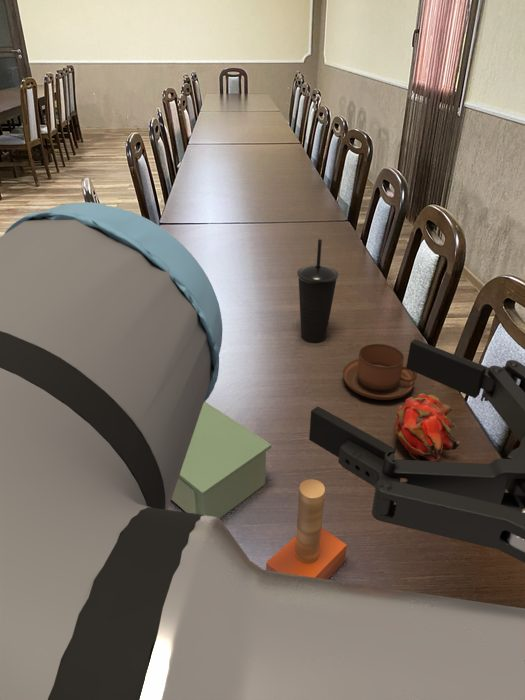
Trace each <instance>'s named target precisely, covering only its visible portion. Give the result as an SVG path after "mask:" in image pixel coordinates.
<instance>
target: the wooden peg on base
mask: <svg viewBox="0 0 525 700" xmlns="http://www.w3.org/2000/svg"><path fill="white" fill-rule="evenodd" d="M325 495H326V487H325V485H324V483H322V482H321V481H320V480H317V479H314V478H309V479H305V480H303V481H302V482H301V483H300V484H299V487H298V501H297V502H298V505H297V518H296V519H297V520H296V521H297V522H296V535H295V536H294V537H293V538H291V539H290V540H289V541H288V542H287V543H286V544H285V545H284V546H282V547H281V549H279V550H278V551H277V552H276V553H274V555H273V556H271V557H270V558H269V560H267V561H266V562H265V570H267V571H274V572H280V573H287V574H294V575H301V576H308V577H314V578H321V579H328V580H330V578H331V577H332V576H333V575H334V574H335V573H336V572H337V571H338V570H339V569H340V567H342V565H343V564H344V563H345V561H346V554H347V547H348V545H347V543H345V542H344V541H342V540H341V539H340V538H338V537H337V536H335V535H333V534H332V532H330V531H328V530H326V529H325V528H323V527H322V526H323V518H324V517H323V516H324V506H325V504H324V503H325Z"/></svg>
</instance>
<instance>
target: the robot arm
mask: <svg viewBox="0 0 525 700" xmlns="http://www.w3.org/2000/svg"><path fill="white" fill-rule="evenodd" d="M221 312H222V311H221V308H220V304H219V300H218V297H217V295H216V292H215V289H214V287H213V284H212V282H211V281H210V280H209V277H208V276H207V274H206V272H205V270H204V268H202V266H201V265H200V263H199V262H198V260H197V259H196V258H195V256H194V255H193V254H192V253H191V252H190V251H189V250H188V249H187V248H186V247H185V245H184V244H182V243H181V242H180V241H179V240H178V239H177V238H176V237H174V235H172V234H171V233H170V232H169V231H167V230H166V229H164V228H163V227H161V226H160V225H158V224H156V223H155V222H153V221H152V220H150V219H148V218H146V217H145V216H143V215H140V214H138V213H137V212H133V211H131V210H126V209H123V208H121V207H117V206H110V205H106V204H105V203H102V202H101V203H100V202H90V201H89V202H88V201H84V202H83V201H82V202H81V201H80V202H71V203H65V204H60V205H56V206H54V207H51V208H49V209H47V210H44V211H42V212H40V211H36V212H33V213H29V214H27V215H24V216H22V217H21V218H19V219H18V220H16V221H15V222H13V223H12V224H11V225H10V226H9V228H7V229H6V231H5V232H4V233H3V235H1V236H0V700H525V608H523V607H518V606H517V607H516V606H510V605H503V604H498V603H497V604H496V603H489V602H483V601H478V600H477V601H474V600H469V599H462V598H455V597H449V596H441V595H436V594H429V593H422V592H415V591H408V590H401V589H395V588H387V587H382V586H374V585H368V584H361V583H356V582H355V583H354V582H348V581H341V580H334V579H321V578H314V577H308V576H301V575H294V574H287V573H280V572H274V571H267V570H266V569H263V568H262V567H260V566H259V565H257V564H256V563H254V562H253V561H252V560H250V558H249V557H248V555H247V554H246V552H245V551H244V550H243V548H242V547H241V546H240V544H239V542H238V541H237V540H236V538H235V537H234V536H233V534H232V533H231V531H230V530H229V529H228V528H227V526H226V524H225V523H224V522H223V520H222V519H221V518H218V517H213V516H207V515H201V514H194V513H187V512H185V511H178V510H171V509H169V507H170V505H171V501H172V500H171V499H172V496H173V493H174V490H175V487H176V484H177V481H178V478H179V475H180V472H181V469H182V466H183V463H184V460H185V457H186V454H187V451H188V448H189V445H190V442H191V439H192V436H193V433H194V430H195V427H196V424H197V421H198V418H199V415H200V412H201V409H202V406H203V403H204V402H206V401H207V400H208V399H209V398H210V396H211V394H212V393H213V391H214V389H215V386H216V383H217V381H218V377H219V371H220V370H219V369H220V353H221V350H222V349H221V348H222V343H223V319H222V313H221ZM406 365H407V366H406V368H407V369H409V371H411V370H412V371H414V372H416V373H417V375H418V374H419V375H421V376H423V377H425V378H428V379H429V380H432V381H434V382H437V383H439V384H441V385H443V386H446V387H448V388H450V389H452V390H455V391H457V392H460V393H462V394H464V395H466V396H469V397H470V398H474V399H476V398H478V396H479V395H480V393H481V390H482V393H481V396H480V401H481V402H483V401H484V402H489V403H490V405H491V406H492V407H493V409H494V410H495V412H497V414H498V415H499V417H500V418H501V419H502V421H503V422H504V423H505V424H506V425H507V427H508V428H509V430H510V431H511V432H512V434H513V435H514V436H515V437H516V439H517V441H519V446H518V447H517V448H515V449H513V450H511V451H510V452H509V454H508V455H507V457H506V458H497V459H494V460H493V461H492V462H490V463H477V462H476V463H474V462H457V461H455V462H454V461H438V460H437V461H429V460H420V461H417V460H415V459H396V456H395V453H396V448H395V447H393V446H392V445H389V444H387V443H385V442H384V441H383V440H381V439H378V438H376V437H375V436H373V435H371V434H369V433H367V432H366V431H364V430H362V429H360V428H358V427H357V426H355V425H354V424H353V425H352V424H351V423H349V422H347V421H345V420H344V419H342V418H340V417H338V416H336V415H335V414H333V413H331V412H329V411H327V410H325V409H324V408H322V407H320V406H318V405H317V406H316V407H314V408H313V409H312V410H310V421H309V436H308V440H309V441H311V442H312V443H313V444H314V445H317V446H319V447H321V448H322V449H323V450H325V451H327V452H328V453H331V455H333V456H335V457H337V458H338V464H340V466H341V467H342V468H343V469H344V470H346V471H348V472H350V473H351V474H353V475H355V477H357V478H360V479H361V480H362V481H364V482H366V483H368V484H369V485H371V486H372V487H373V488H374V494H373V502H372V507H371V515H372V518H374V519H375V520H376V521H379V522H383V523H387V524H391V525H395V526H399V527H404V528H409V529H412V530H416V531H419V532H424V533H429V534H432V535H437V536H440V537H445V538H450V539H452V540H453V539H454V540H458V541H462V542H465V543H469V544H474V545H477V546H482V547H487V548H489V549H495V550H499V551H500V552H503V553H504V554H506V555H508V556H510V557H512V558H514V559H516V560H518V561H520V562H522V563H524V564H525V365H524V364H522V363H521V362H520V361H518V360H515V359H509V360H507V361H506V362H505V365H504V366H499V365H491V366H486V365H483V364H480V363H478V362H476V361H473V360H470V359H468V358H466V357H463V356H460V355H456V354H453V353H451V352H449V351H446V350H444V349H441V348H438V347H436V346H433V345H431V344H428V343H426V342H424V341H421V340H419V339H416V338H415V339H413V340H411V341H410V344H409V350H408V355H407V360H406ZM412 371H411V372H412ZM518 380H520V382H519V384H518ZM402 479H405V480H406V481H401V480H402ZM506 491H507V492H506Z"/></svg>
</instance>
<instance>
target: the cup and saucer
mask: <svg viewBox="0 0 525 700" xmlns="http://www.w3.org/2000/svg"><path fill="white" fill-rule="evenodd" d="M404 362H405V356H404V353H403V352H402V351H401V350H400V349H398V348H396V347H394V346H392V345H389V344H384V343H370V344H367V345H364V346H363V347H361V348H360V350H359V352H358V359H355V360H352V361H350V362H348V363H347V364H346V365H345V366H344V368H343V370H342V378H343V382H344V383H345V385H346V386H347V387H348V388H349V389H351V390H352V391H353V392H354V393H356V394H358V395H360V396H362V397H365V398H367V399H371V400H377V401H391V400H396V399H400V398H402V397H405V396H407V395H408V394H409V393H410V392H411V391H412V390H413V388H414V386H415V382H416V380H417V378H418V373H416V372H414V371H412V370H409V369H407V368H406V366H407V364H404Z"/></svg>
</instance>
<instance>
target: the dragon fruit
mask: <svg viewBox="0 0 525 700" xmlns="http://www.w3.org/2000/svg"><path fill="white" fill-rule="evenodd" d="M452 410H453V409H452V407H451V406H450V405H449V404H446V403H442V400H440V399H439V397H437V396H436V395H435V394H427V393H425V392H422V393H419V394H417V396H410V397H407V398H406V399H405V404H403V405H399V406H398V407H397V410H396V416H397V417H396V420H395V425H394V430H393V432H394V435H395V437H396V438H395V439H396V440H399V441H400V443H401V444H402V445H403V446H404V448H405V450H406V451H407V452H408V455H409V456H410V457H411V458H413V460H417V461H421V459H420V458H421V457H424V458H425V459H426V460H427V461H437V462H438V461H439V460H440V459H442V456H441V455H443V450H446V451H452V450H456V449H458V447H459V446H460V444H461V442H460V440H456V439H455V436H454V435H453V434H452V433H451V431H452V429H453V428H455V427H456V423H455V422H454V421H453V420H452V419H450V418H449V417H447V416H448V414H449V413H450V412H451V411H452Z"/></svg>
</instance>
